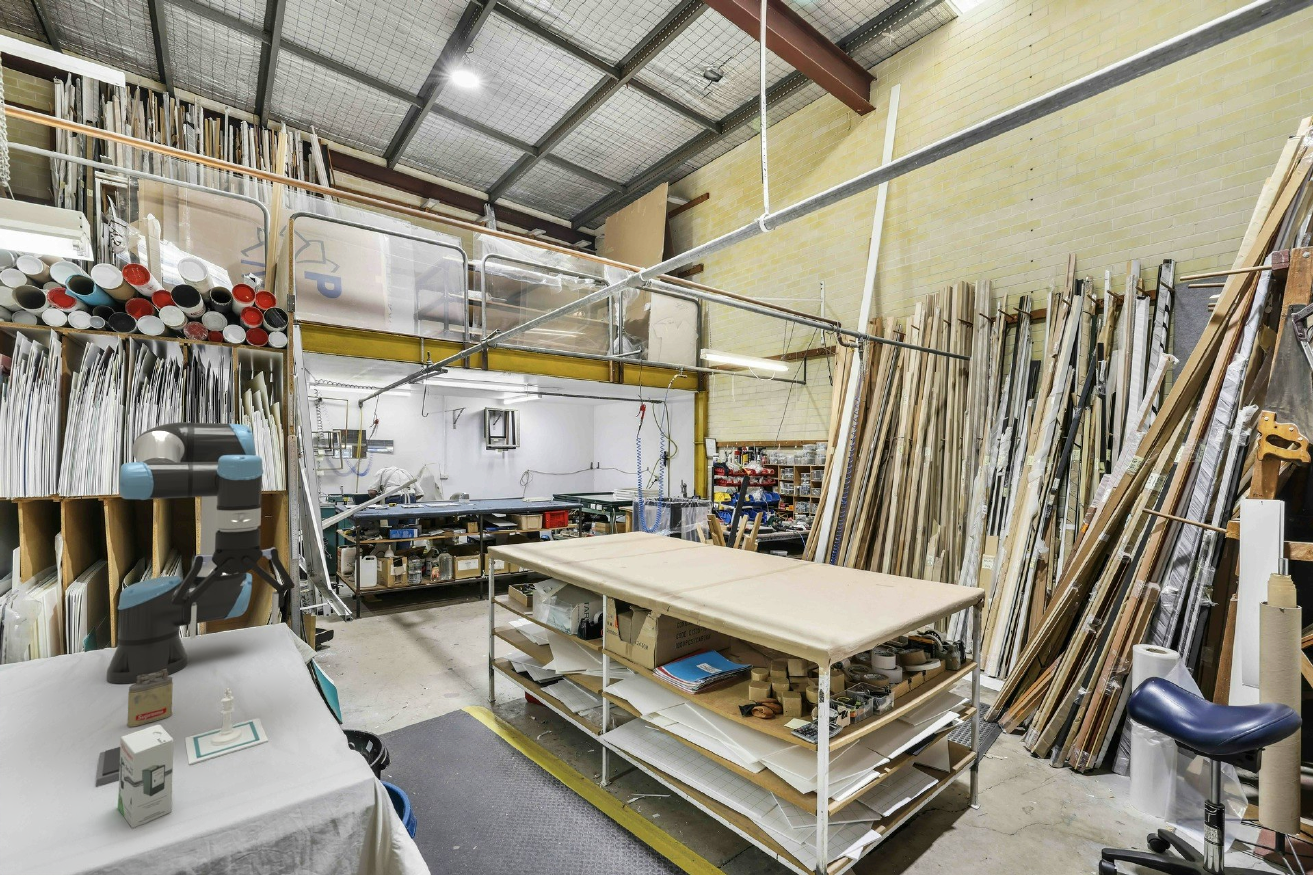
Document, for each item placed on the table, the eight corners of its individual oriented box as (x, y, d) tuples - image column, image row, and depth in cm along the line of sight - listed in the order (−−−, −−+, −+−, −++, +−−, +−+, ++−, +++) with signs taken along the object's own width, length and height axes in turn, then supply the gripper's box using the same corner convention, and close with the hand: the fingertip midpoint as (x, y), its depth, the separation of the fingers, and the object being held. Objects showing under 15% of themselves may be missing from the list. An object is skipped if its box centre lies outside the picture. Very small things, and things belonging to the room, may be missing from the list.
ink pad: (99, 759, 101) (99, 750, 101) (157, 743, 107) (157, 735, 107) (96, 786, 93) (96, 777, 93) (159, 767, 99) (159, 759, 99)
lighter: (128, 729, 112) (129, 680, 112) (125, 722, 114) (127, 675, 115) (173, 716, 117) (175, 670, 118) (170, 710, 120) (171, 665, 120)
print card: (184, 739, 109) (185, 737, 109) (258, 719, 117) (258, 717, 117) (188, 765, 100) (188, 763, 100) (268, 741, 108) (268, 739, 108)
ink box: (116, 808, 88) (118, 734, 88) (156, 792, 92) (158, 722, 92) (131, 829, 83) (133, 752, 84) (173, 811, 87) (175, 738, 88)
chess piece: (224, 747, 105) (225, 695, 106) (203, 743, 106) (205, 692, 107) (248, 733, 110) (249, 684, 110) (228, 730, 111) (229, 682, 111)
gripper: (158, 537, 102) (154, 649, 102) (311, 525, 119) (308, 621, 119) (157, 531, 108) (154, 637, 108) (304, 521, 125) (301, 612, 125)
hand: (235, 629), depth 114 cm, fingers open, 13 cm apart
